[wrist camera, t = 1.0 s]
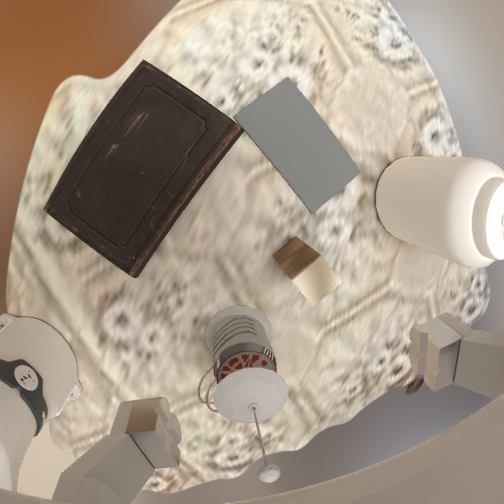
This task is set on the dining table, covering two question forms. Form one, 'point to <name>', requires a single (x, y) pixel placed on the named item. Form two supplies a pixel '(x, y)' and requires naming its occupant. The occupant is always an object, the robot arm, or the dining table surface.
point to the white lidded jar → (445, 207)
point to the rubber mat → (298, 144)
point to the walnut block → (307, 270)
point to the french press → (245, 371)
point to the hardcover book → (140, 167)
